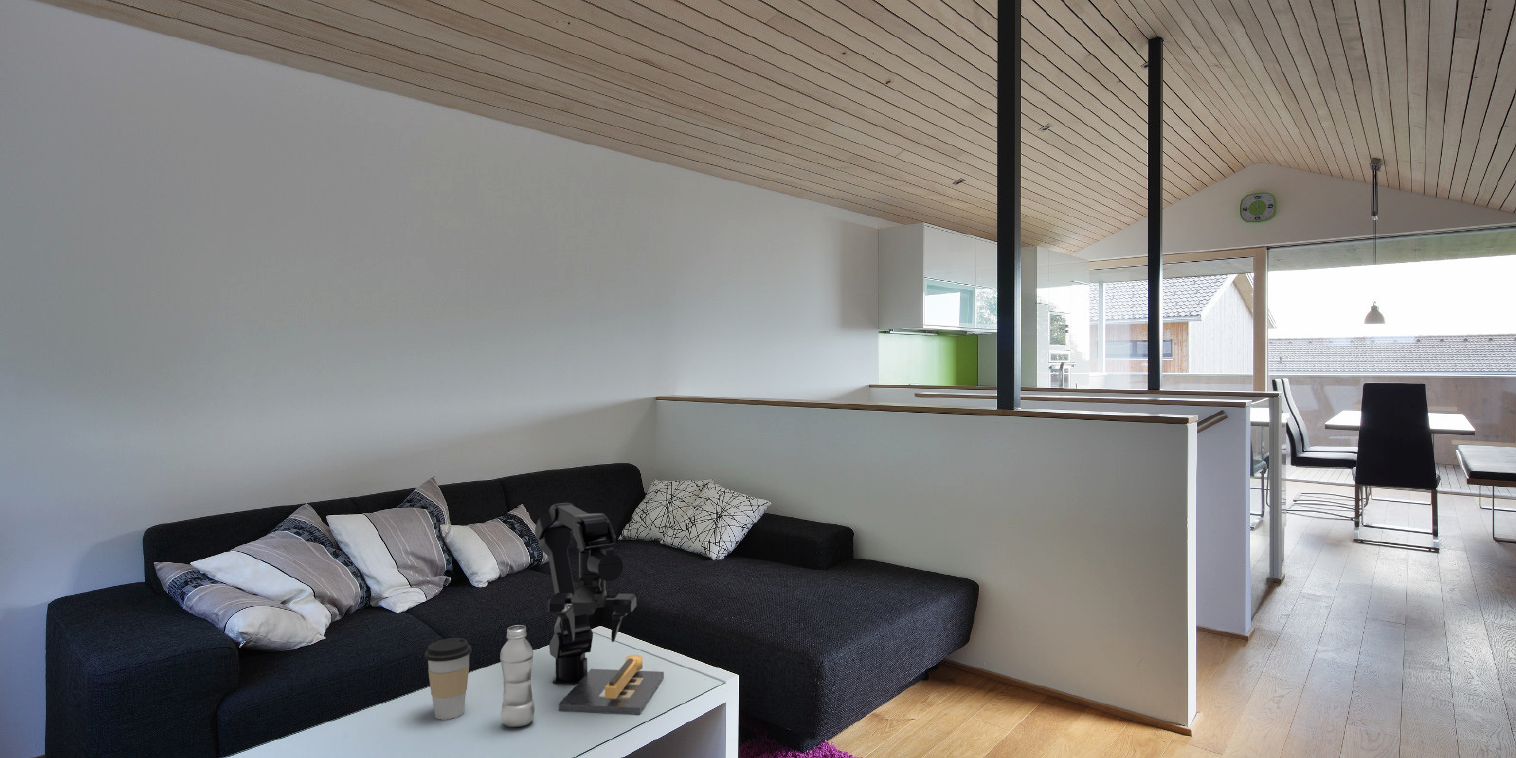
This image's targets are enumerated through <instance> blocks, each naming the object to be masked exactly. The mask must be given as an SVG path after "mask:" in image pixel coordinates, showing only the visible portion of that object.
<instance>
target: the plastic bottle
mask: <svg viewBox="0 0 1516 758" xmlns="http://www.w3.org/2000/svg"><path fill="white" fill-rule="evenodd" d="M506 632H507V633H506V639H507V641H506V642H505V644H504V645H503V646H502V648H501V651H500V655H499V656H500V664H501V670H502V679H503V698H502V704H501V711H500V715H501V721H502V722H503V724H504V726H507V727H509V728H515V727H516V728H518V727H523V726H526V725H529V724H530V723H531V722H532V721H533V719H534V717H535V711H536V709H535V708H536V707H535V702H534V699H533V691H532V690H533V689H532V666H533V657H534V649H533V647H532V646H531V644H530V642H529V641H528V640H527V639H526V637H527V627H526V625H524V624H522V625H521V624H520V625H519V624H517V625H512V626H509V627H508V628H507V630H506Z"/></svg>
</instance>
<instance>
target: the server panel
mask: <svg viewBox="0 0 1516 758" xmlns="http://www.w3.org/2000/svg"><path fill="white" fill-rule="evenodd" d="M618 671H619V669H604V668H590V669H589V670H588V671H587V672H588V673H587V674H586V675H585V676H584V677H583V678H582V679H581V680H580V681H579V683H578V684H575V686H574V687H573V688H572V689H571V690H570V691H569V692H568V693H567V695H565V696H564V698H563V699H562V700H561V701H560V702H559V703H558V711H559V712H574V713H576V712H577V713H599V714H616V715H617V714H618V715H634V716H635V715H638V716H640V715H641V713H642V712H643V711H644V709H645V708H646V706H647V705H646V704H648V703H649V702H650V700H651V699H652V697H653V696H654V694H655V692H656V691H657V689H658V688H659V686H660V685H661V684H662V681H663V680H664V678H665V677H664V676H665V672H664V671H655V670H653V671H652V670H651V671H650V670H638V671H636V673H635V674H634V675H633V677H632V678H631V679H630V681H629V682H628V683H627V685H626V686H625V687H624V688H623V690H622V691H621V692H620V694H619V695H618V696H617V698H616V699H613V698H605V686H606V685H607V684H608V683H609V681H610V680H611V679H612V678H613V677H614V675H615V674H616V673H617V672H618ZM644 707H645V708H644Z"/></svg>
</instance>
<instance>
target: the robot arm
mask: <svg viewBox="0 0 1516 758" xmlns="http://www.w3.org/2000/svg"><path fill="white" fill-rule="evenodd" d="M534 535H535V539H536V540H537V541H538V547H539V549H540V550H541V551H542V552H543V553H544V554H545V556H546V557H548V562H549V568H550V573H551V580H552V585H553V586H552V587H553V591H554V595H553V596H552V597H551V598H550V599H549V600H548V602H547V612H548V613H553V615H554V616H555V617H556V616H557V619H556V622H555V625H554V626H553V631H554V634H553V636H552V638H551V641H550V642H549V645H548V646H549V647H548V648H549V654H550V656H552V657H553V658H554V659H555V678H554V679H553V680H552V683H553V684H559V685H560V684H564V685H577V684H578V683H579V681H580V680H581V679H582V678H583V677H584V676H585V675H586V674H587V673H588V672H589V671H588V658H587V657H586V653H591V652H592V651H591V650H592V645H593V640H594V638H593V637H594V632H593V630H592V628H591V626H590V623H589V621H590V620H589V615H594V613H595V612H596V609H598V608H612V611H613V613H612V614H611V618H612V623H611V624H612V625H611V643H614V642H615V640H616V637H617V634H618V631H619V629H620V626H621V622H622V620H623V619H624V617H626V616H627V615H628V614H631V613H632V612H634V611H633V610H635V608H636V607H637V597H636V595H635V594H634V593H618V594H617V595H616V596H615V597H614V598H613V597H607V590H606V582H612V581H615V580H617V579H618V578H619V577H620V576H621V574H622V572H623V568H624V564H623V561H622V559H621V557H620V556H619V555H617V554H616V553H615V549H614V547H617V543H616V540H617V536H616V534H615V531H614V528H613V526H612V523H611V521H610V519H609V518H608V517H607V515H606V514H605V513H588V512H586V511H584V510H582V509H580V508H578V507H576V506H574V504H573V503H572V502H571V503H570V502H562V503H554V504H553V505H551V506H550V508H549V510H548V511H547V512H545V513H544V514H543V515H541V516H540V517H539V519H538V520H537V522H536V525H535V528H534ZM572 535H573V536H572ZM573 537H574V539H575V541H576V544H577V545H576V548H577V549H578V577H579V578H578V579H577V586H576V589H575V584H574V580H573V579H574V578H573V574H572V573H573V572H572V569H571V563H570V557H569V551H568V550H569V547H570V545H571V542H572V539H573Z"/></svg>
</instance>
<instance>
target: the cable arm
mask: <svg viewBox="0 0 1516 758" xmlns="http://www.w3.org/2000/svg"><path fill="white" fill-rule="evenodd" d="M624 658H625V661H624V663H623V665H621V667H620V668H619V669H618V670H619V671H618V672H617V673H616V674H615V675H614V677H613V678H612V679H611V680H610V681H609V683H608V684H607V685H606V686H605V698H613V699H616V698H617V696H618V695H619V694H620V692H621V691H622V690H623V688H624V687H625V686H626V685H627V683H628V682H629V681H630V679H631V678H632V677H633V675H634V674H635V673H636V671H638V670H639V671H642V669H643V656H642V655H639V654H631V655H627V656H626V657H624Z"/></svg>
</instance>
